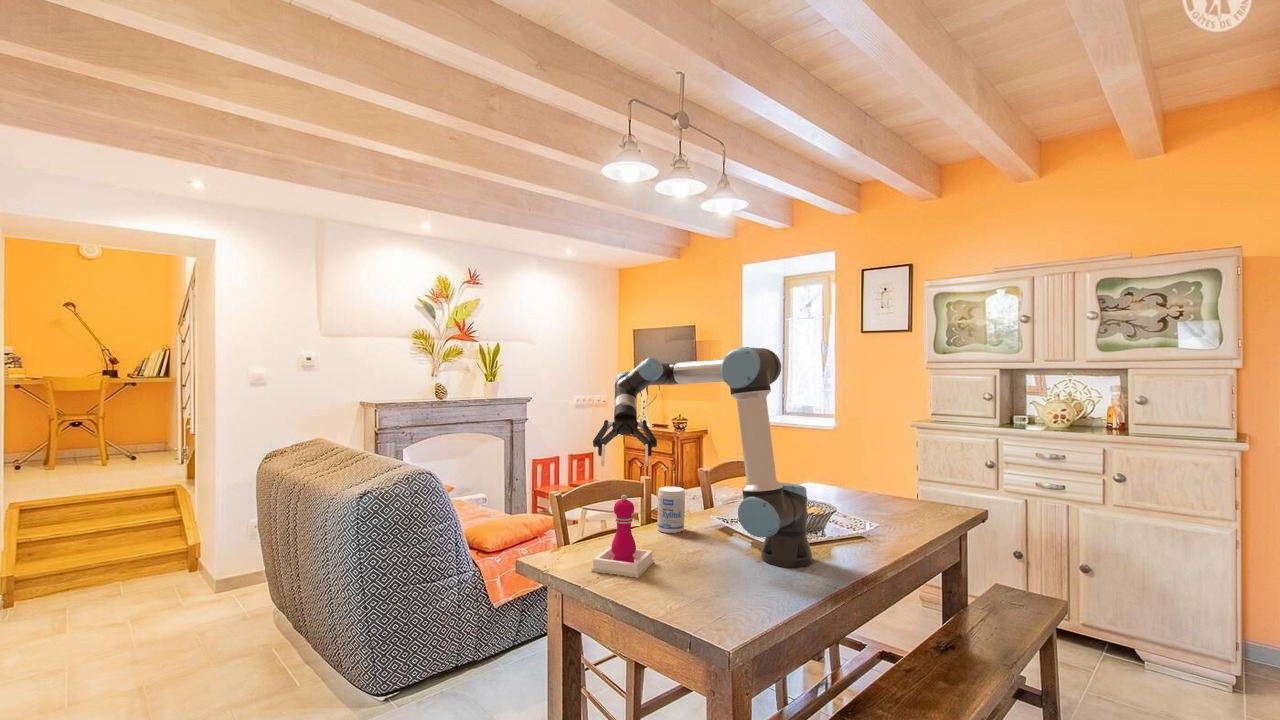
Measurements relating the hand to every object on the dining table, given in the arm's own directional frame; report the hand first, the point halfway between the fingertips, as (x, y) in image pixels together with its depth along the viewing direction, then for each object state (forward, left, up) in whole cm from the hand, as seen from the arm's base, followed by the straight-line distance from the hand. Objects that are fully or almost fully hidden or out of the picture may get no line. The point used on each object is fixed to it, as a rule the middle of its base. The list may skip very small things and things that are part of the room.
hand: (624, 463), depth 185 cm
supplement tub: (-5, -33, -29) cm, 44 cm away
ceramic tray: (-3, +9, -28) cm, 30 cm away
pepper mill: (-3, +9, -28) cm, 29 cm away
